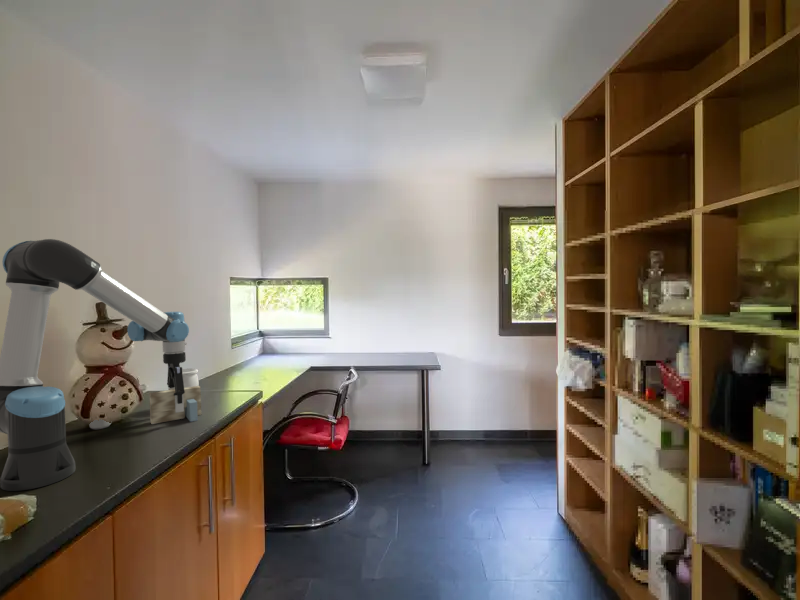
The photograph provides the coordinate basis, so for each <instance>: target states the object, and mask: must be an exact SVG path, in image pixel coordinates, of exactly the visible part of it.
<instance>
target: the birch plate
mask: <svg viewBox="0 0 800 600" xmlns="http://www.w3.org/2000/svg"><path fill="white" fill-rule="evenodd" d="M201 388H202V386H200V385H199V386H194V387H187V388H184V391H185V393H183V399H184V411H183V412H177V413H176V412H175V396H174V393H175V389H173V390H168V389H167V390H160V391H154V392H149V417H150V420H149V421H150V423H151V425H155V424H161V423H165V422H170V421H175V420H180V419H181V420H182V419H186V416H185V408H186V407H187V401H186V400H189V399H194V400H195V401H197V414H198V416H202V394H201V393H202V391H201Z"/></svg>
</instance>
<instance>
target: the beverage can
mask: <svg viewBox="0 0 800 600" xmlns="http://www.w3.org/2000/svg"><path fill="white" fill-rule="evenodd" d="M111 424H112V422H111V423H109V422H106V421H104V420H102V419H101V420H100V419H99V421H98V420H94V421H93V422H91V423H90V424H89V423H88V425H89V428H90V429H91V430H102V429H106V428H108V427H110V425H111Z"/></svg>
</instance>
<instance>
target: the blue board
mask: <svg viewBox="0 0 800 600" xmlns="http://www.w3.org/2000/svg"><path fill="white" fill-rule="evenodd" d="M186 401H187V407H186V408H185V418H187V420H188V421H189V422H190V423H191V422H197V421H198V420H199V419H198V418H199V417H198V416H199V415H198V414H197V401H195V400H194V399H189V400H186Z"/></svg>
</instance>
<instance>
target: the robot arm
mask: <svg viewBox="0 0 800 600" xmlns="http://www.w3.org/2000/svg"><path fill="white" fill-rule="evenodd" d="M2 267H3V270H4V271H5V273H6V279H5V285H6V286H7V287H8V288H9V289H10V290H11V293H10V299H9V305H8V310H7V317H6V323H5V328H4V334H3V339H2V344H1V351H0V433H2V434H6V435H7V450H8V456H7V458H6V460H5V464H4V467H3V470H2V473H1V476H0V489H1V490H3V491H7V492H8V491H9V492H19V491H27V490H28V491H29V490H32V489H38V488H42V487H46V486H49V485H53V484H56V483H58V482H60V481H63V480H65V479H66V478H68V477H70V476H71V475H73V474H75V471H76V460H75V458H74V456H73V454H72V453H71V450H70V448H69V445H68V444H67V432H66V430H67V428H66V400H65V396H64V394H65V393H64V391H62V389H60V388H59V387H54V386H49V385H48V386H44V382H43V381H42V380H41V379H40V378H39V377H38V376H39V374H38V373H39V369H40V363H41V357H42V350H43V345H44V344H43V343H44V338H45V334H46V333H45V332H46V326H47V321H48V320H47V319H48V314H49V309H50V302H51V296H52V295H53V294H54V293H55V292H58V291H59V288H60V283H61V284H64V285H67V286H68V287H71V288H72V289H74V290H76V291H79V290H82V291H84V292H85V293H87V294H89V295H90V296H92V297H94V298H95V299H97V300H98V301H100V302H101V303H103V304H105V305H106V306H109V307H110V308H111V309H113V310H115V311H117V312H118V313H119V314H121V315H123V316H124V317H126V318H127V319H129V320H131V321H130V322H128V323H129V324H128V325H127V336H128V337H129V339H130V340H131V341H133V342H143V341H153V342H154V341H155V342H162V353H163V354H162V358H163V359H162V363H163V364H165V365H167V383H166V385H167V390H173V389H175V393H174V396H175V412H176V413H177V412H183V411H184V399H183V393H185V391H184V383H183V375H182V369H183V367H182V366H181V365H180V364H182V363H184V362H186V352H185V351H186V346H187V342H186V339H187V338H188V336H189V333H190V326H189V325H188V323H187V322H186V321H185V315H184V313H183V312H182V311H165V312H163V310H161V309H159V308H158V307H157V306H155V305H153V304H152V303H151V302H150V301H148V300H146V299H145V298H144V297H142V296H140V295H139V294H137V293H136V292H134V291H133V290H132V289H130V287H128V286H126V285H125V284H123V283H122V282H120V281H119V280H118V279H116V278H114V277H113V276H111V275H110V274H109V273H107V272H106V271H105V270H103V269H102V264H101V263H99V262H98V261H96V259H93V258H92V257H90V256H89V255H88V254H86V253H85V252H83V251H82V250H80V249H78V248H76V247H75V246H73V245H72V244H70V243H68V242H66V241H64V240H59V239H54V238H48V239H47V238H45V239H39V240H26V241H22V242H19V243H17V244H15V245H12V246H11V247H9V248H8V249H7V250H6V251H5V252H4V255H3V257H2Z"/></svg>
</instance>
